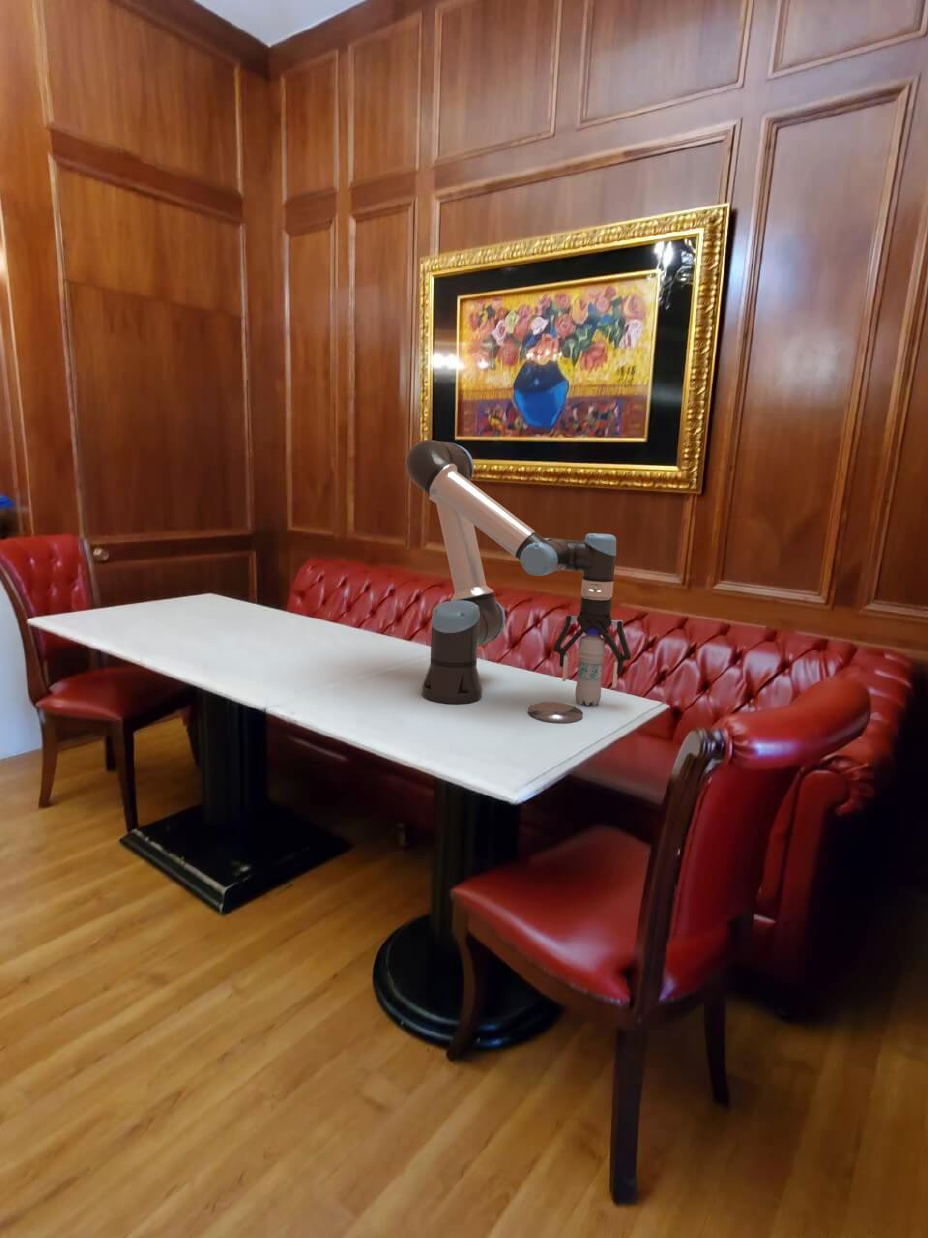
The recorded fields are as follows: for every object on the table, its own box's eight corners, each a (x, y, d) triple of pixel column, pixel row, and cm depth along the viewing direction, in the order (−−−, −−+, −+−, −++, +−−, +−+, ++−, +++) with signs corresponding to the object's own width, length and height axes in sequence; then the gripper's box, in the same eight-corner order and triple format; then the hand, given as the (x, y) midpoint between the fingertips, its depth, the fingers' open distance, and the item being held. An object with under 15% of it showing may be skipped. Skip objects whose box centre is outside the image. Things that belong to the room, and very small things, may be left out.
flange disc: (522, 718, 163) (522, 715, 162) (534, 702, 175) (534, 699, 175) (577, 726, 159) (578, 723, 159) (586, 709, 171) (586, 706, 171)
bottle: (600, 708, 172) (607, 629, 168) (573, 705, 174) (579, 627, 170) (601, 700, 179) (607, 624, 175) (574, 698, 180) (580, 621, 176)
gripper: (544, 594, 171) (539, 680, 175) (645, 604, 164) (637, 693, 168) (550, 590, 178) (545, 673, 182) (647, 599, 171) (639, 685, 175)
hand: (589, 682), depth 175 cm, fingers open, 12 cm apart
